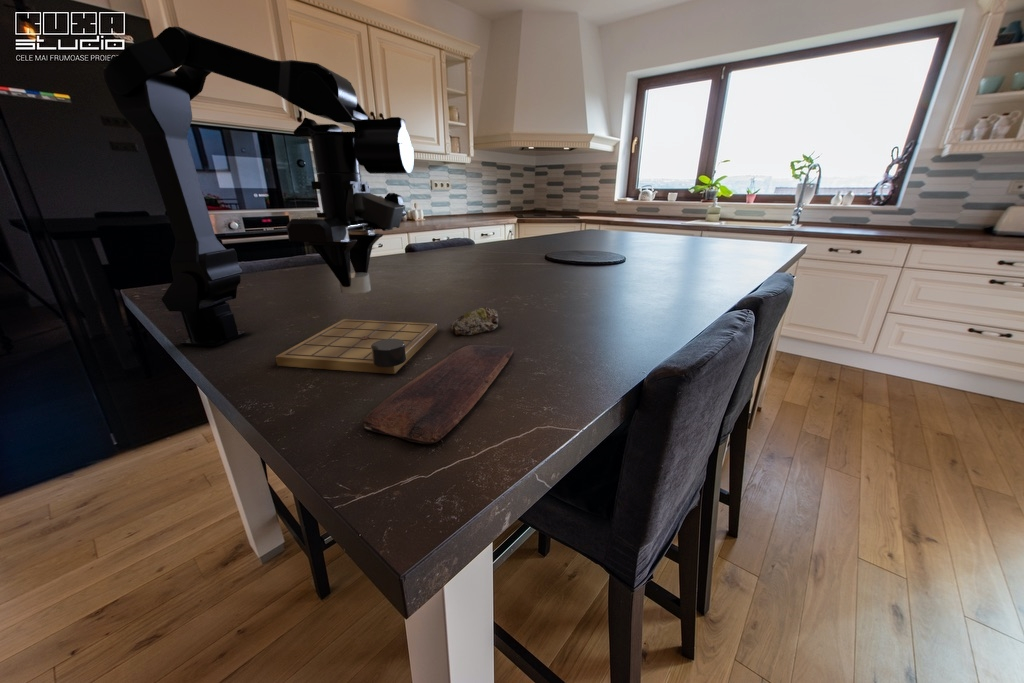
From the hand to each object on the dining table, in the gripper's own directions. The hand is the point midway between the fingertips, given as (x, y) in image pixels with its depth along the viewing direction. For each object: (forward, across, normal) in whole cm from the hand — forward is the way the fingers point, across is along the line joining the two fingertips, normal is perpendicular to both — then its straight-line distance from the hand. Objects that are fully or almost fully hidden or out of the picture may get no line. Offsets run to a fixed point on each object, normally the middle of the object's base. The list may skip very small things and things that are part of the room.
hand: (354, 283), depth 61 cm
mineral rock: (+10, +11, -16) cm, 22 cm away
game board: (+10, -1, -1) cm, 10 cm away
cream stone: (+1, 0, 0) cm, 1 cm away
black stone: (+9, -9, -9) cm, 15 cm away
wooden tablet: (+10, -12, -19) cm, 25 cm away
